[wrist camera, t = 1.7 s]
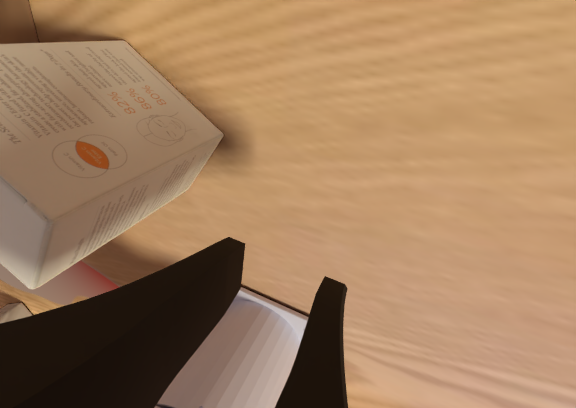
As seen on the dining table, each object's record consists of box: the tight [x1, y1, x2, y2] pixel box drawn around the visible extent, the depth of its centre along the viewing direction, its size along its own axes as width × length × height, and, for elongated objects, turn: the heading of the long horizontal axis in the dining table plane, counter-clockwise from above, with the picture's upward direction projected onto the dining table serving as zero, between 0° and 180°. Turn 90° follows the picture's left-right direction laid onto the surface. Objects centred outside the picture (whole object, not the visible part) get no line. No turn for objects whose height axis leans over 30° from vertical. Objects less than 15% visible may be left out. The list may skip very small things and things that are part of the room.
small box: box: [0, 40, 224, 289], centre depth 15 cm, size 8×6×10 cm
